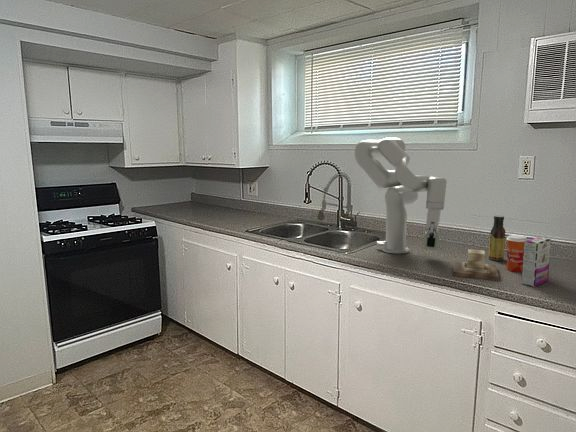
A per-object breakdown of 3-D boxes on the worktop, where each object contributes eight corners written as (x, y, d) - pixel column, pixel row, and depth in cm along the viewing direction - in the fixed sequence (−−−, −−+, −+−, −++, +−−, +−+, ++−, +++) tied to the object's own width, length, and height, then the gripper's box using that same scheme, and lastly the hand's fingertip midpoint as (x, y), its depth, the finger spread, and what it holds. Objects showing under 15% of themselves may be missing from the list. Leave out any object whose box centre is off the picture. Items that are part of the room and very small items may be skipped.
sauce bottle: (490, 256, 191) (493, 214, 188) (505, 259, 187) (508, 215, 184) (486, 259, 186) (489, 216, 183) (501, 262, 182) (505, 217, 179)
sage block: (423, 248, 186) (424, 233, 185) (424, 245, 191) (425, 230, 190) (437, 250, 184) (439, 235, 182) (438, 247, 189) (439, 232, 188)
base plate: (453, 275, 164) (453, 269, 163) (454, 265, 178) (454, 259, 178) (498, 280, 158) (499, 273, 157) (495, 268, 172) (496, 263, 172)
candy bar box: (534, 278, 160) (538, 236, 158) (548, 281, 156) (552, 238, 154) (519, 283, 154) (523, 240, 151) (534, 287, 150) (538, 242, 147)
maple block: (467, 269, 166) (468, 252, 165) (467, 265, 172) (468, 249, 171) (483, 271, 164) (484, 254, 163) (483, 267, 170) (484, 250, 168)
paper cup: (501, 270, 171) (503, 236, 168) (507, 266, 176) (510, 233, 174) (522, 274, 165) (525, 239, 163) (528, 270, 170) (531, 236, 168)
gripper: (427, 201, 193) (424, 239, 196) (424, 207, 177) (420, 248, 181) (444, 203, 190) (441, 241, 194) (443, 209, 174) (438, 250, 178)
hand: (431, 244), depth 187 cm, fingers closed on sage block, 5 cm apart
